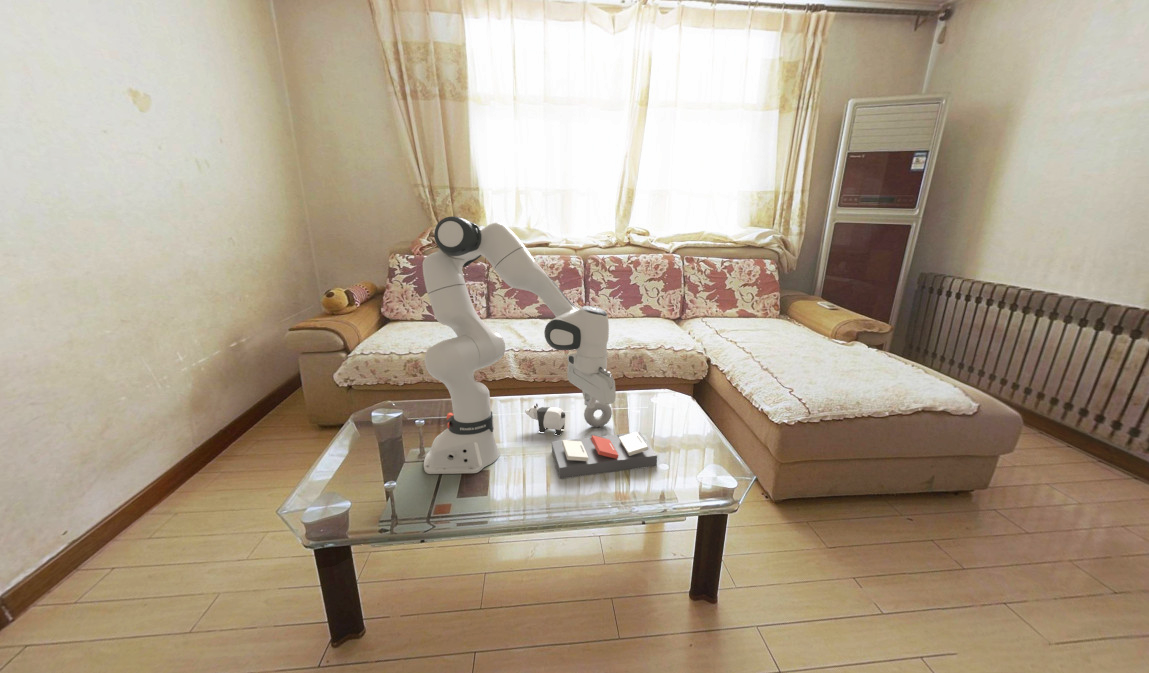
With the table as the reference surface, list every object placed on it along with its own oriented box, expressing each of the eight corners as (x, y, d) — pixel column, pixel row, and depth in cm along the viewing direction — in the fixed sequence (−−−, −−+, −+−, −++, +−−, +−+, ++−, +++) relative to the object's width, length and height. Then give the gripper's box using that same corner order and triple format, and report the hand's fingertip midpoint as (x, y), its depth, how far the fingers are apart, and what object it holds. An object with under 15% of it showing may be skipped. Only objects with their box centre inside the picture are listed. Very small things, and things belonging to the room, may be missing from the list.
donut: (585, 430, 146) (584, 403, 144) (583, 425, 150) (582, 399, 147) (613, 427, 148) (613, 401, 146) (610, 423, 151) (610, 397, 149)
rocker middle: (598, 454, 120) (600, 450, 119) (590, 438, 129) (592, 434, 129) (617, 458, 121) (618, 455, 121) (608, 442, 130) (609, 439, 130)
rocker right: (629, 456, 122) (628, 452, 121) (619, 440, 131) (618, 436, 131) (648, 449, 123) (647, 446, 122) (637, 434, 132) (636, 431, 131)
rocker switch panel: (559, 478, 118) (559, 465, 117) (552, 451, 133) (551, 439, 131) (656, 466, 124) (657, 453, 123) (639, 441, 138) (639, 429, 137)
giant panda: (568, 429, 147) (567, 404, 145) (562, 437, 142) (562, 411, 139) (529, 424, 151) (528, 399, 149) (523, 431, 146) (521, 406, 144)
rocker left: (567, 459, 118) (568, 455, 118) (561, 443, 127) (562, 439, 127) (587, 461, 120) (588, 457, 119) (580, 444, 129) (581, 441, 128)
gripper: (622, 372, 114) (619, 418, 118) (581, 351, 131) (580, 392, 134) (603, 376, 111) (601, 423, 115) (564, 354, 127) (563, 395, 131)
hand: (589, 406), depth 125 cm, fingers closed
